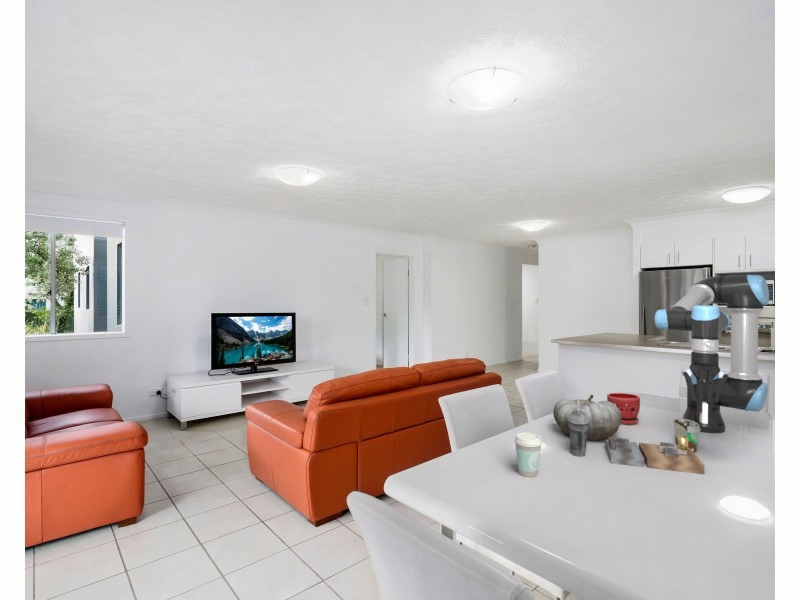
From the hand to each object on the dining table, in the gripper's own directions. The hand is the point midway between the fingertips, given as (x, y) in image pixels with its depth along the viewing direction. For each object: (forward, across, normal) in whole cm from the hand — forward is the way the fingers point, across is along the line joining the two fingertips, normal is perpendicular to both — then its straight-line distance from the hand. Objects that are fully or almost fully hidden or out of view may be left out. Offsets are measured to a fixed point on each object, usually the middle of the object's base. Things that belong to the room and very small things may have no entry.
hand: (703, 422), depth 145 cm
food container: (+15, 0, +16) cm, 22 cm away
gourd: (+15, -35, +20) cm, 43 cm away
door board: (+15, -15, 0) cm, 21 cm away
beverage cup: (+15, -39, -3) cm, 42 cm away
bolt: (+11, -8, 0) cm, 14 cm away
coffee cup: (+15, -55, -26) cm, 62 cm away
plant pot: (+15, -18, +46) cm, 52 cm away
